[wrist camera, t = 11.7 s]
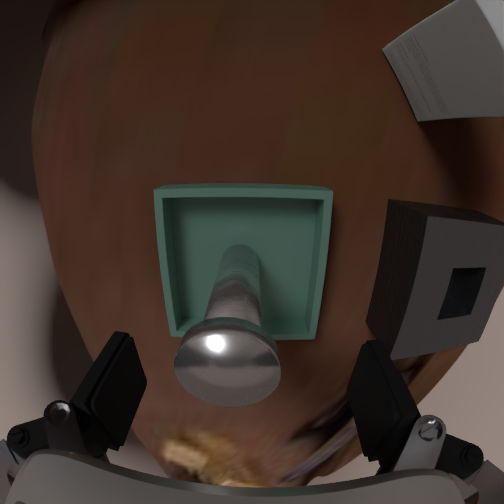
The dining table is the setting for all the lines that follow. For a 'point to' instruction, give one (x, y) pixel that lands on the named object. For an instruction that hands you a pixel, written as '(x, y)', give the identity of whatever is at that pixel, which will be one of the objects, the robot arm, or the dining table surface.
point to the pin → (230, 339)
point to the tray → (250, 234)
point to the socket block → (435, 278)
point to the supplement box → (453, 61)
